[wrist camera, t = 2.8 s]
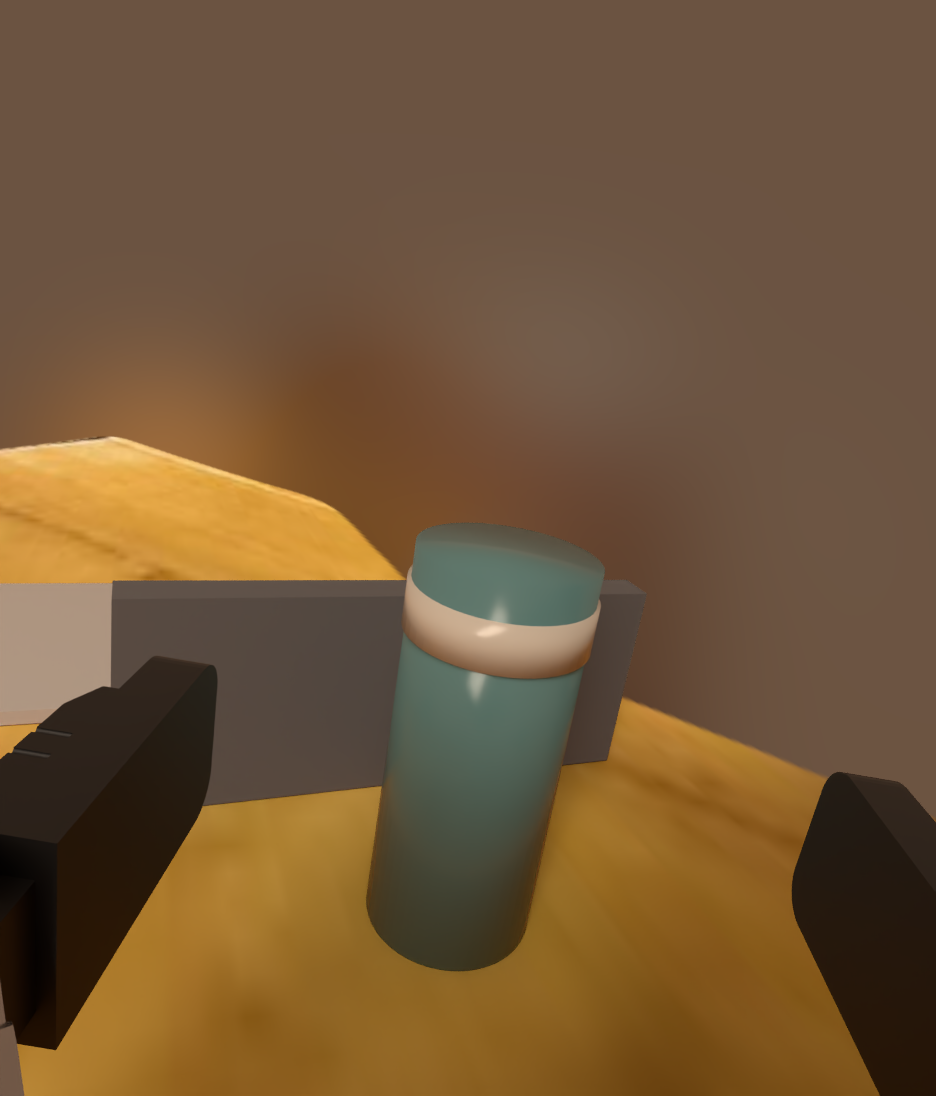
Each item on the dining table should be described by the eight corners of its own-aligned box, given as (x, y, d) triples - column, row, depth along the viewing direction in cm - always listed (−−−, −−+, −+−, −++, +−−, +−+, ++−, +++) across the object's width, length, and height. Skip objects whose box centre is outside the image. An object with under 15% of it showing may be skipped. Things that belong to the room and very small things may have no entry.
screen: (589, 741, 35) (626, 579, 33) (606, 760, 34) (646, 593, 32) (110, 789, 27) (112, 580, 25) (109, 815, 26) (111, 599, 24)
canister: (454, 826, 28) (510, 515, 25) (564, 921, 25) (648, 575, 21) (330, 884, 25) (372, 530, 21) (436, 1006, 21) (511, 604, 17)
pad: (167, 592, 44) (167, 583, 44) (178, 713, 33) (179, 701, 32) (-112, 595, 39) (-114, 584, 38) (-213, 739, 27) (-216, 724, 27)
